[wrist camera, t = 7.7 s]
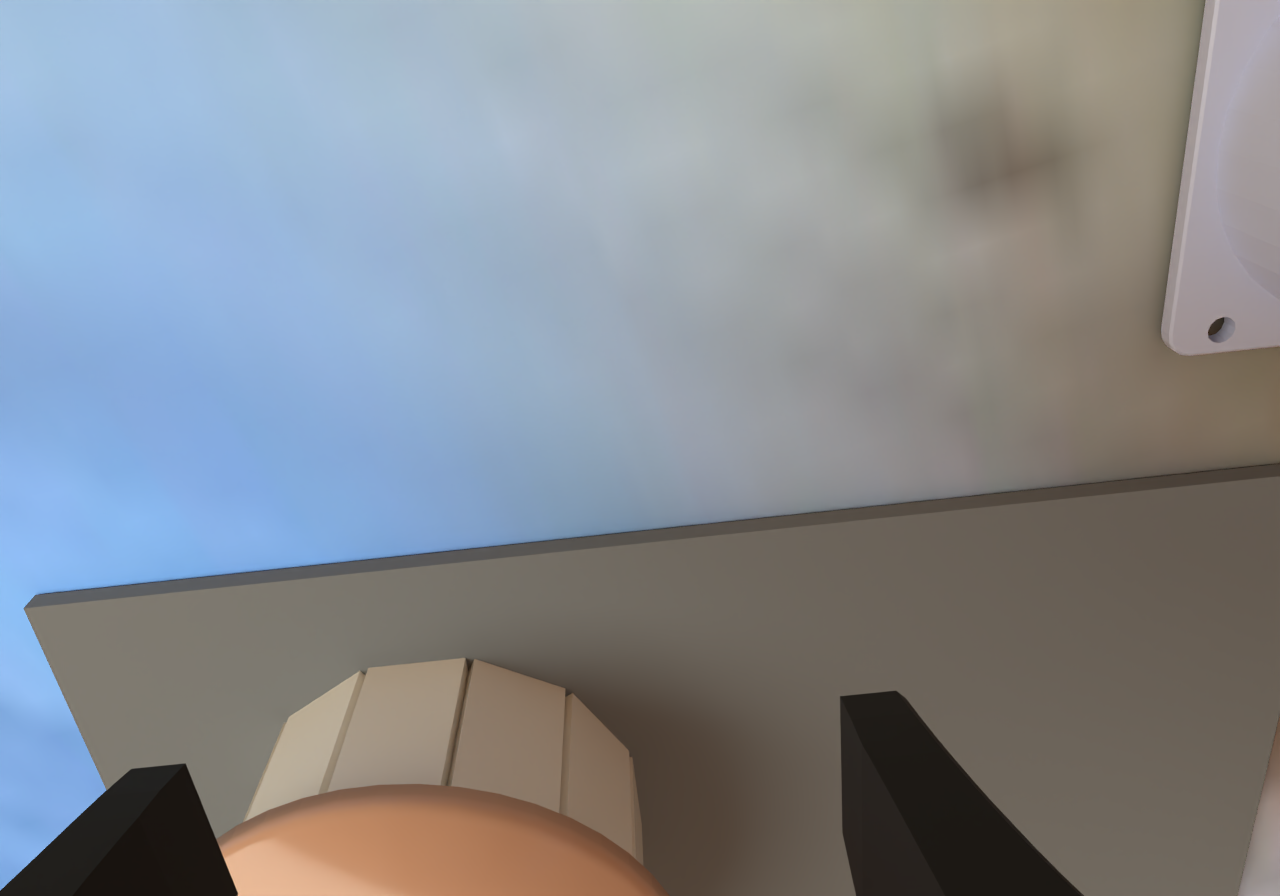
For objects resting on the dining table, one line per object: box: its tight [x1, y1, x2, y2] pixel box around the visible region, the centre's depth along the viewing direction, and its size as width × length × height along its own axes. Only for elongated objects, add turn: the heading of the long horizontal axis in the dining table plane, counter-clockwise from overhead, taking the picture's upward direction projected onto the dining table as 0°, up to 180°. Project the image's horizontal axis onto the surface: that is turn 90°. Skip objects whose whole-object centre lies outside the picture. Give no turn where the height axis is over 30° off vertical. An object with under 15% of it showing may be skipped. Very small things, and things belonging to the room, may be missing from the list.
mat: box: [24, 464, 1280, 896], centre depth 25 cm, size 28×17×1 cm, turn 96°
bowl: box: [243, 658, 644, 866], centre depth 22 cm, size 9×9×4 cm
